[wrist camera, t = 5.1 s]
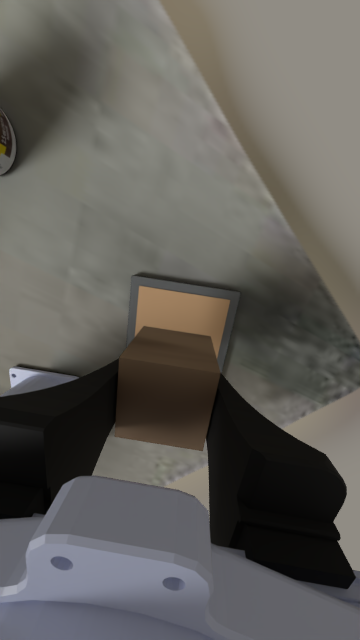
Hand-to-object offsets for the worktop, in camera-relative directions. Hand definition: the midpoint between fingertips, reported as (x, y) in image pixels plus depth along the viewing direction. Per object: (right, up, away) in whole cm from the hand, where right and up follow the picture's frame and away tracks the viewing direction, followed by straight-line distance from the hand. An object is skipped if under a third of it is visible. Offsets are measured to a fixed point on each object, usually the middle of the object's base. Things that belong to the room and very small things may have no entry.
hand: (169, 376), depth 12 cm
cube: (0, +1, +1) cm, 2 cm away
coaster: (+1, +2, +8) cm, 8 cm away
